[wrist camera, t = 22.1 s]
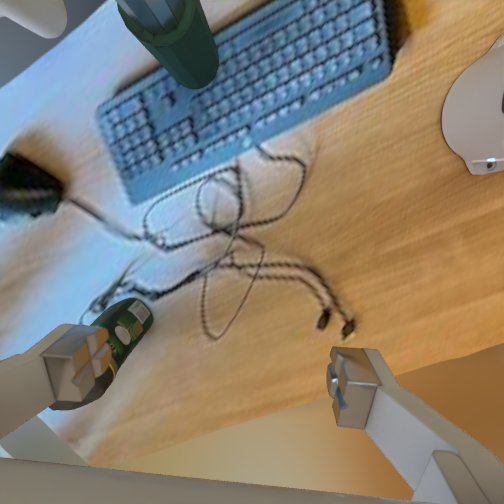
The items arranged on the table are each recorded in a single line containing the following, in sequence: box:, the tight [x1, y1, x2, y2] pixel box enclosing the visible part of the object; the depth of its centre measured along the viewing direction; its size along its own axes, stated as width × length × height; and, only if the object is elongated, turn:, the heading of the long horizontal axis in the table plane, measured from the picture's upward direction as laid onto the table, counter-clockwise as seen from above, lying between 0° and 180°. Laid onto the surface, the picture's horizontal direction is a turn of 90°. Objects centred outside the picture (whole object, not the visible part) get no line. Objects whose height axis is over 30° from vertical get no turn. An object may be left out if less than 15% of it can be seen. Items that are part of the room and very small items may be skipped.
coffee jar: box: [49, 298, 153, 410], centre depth 42 cm, size 10×8×19 cm
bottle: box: [117, 0, 219, 89], centre depth 29 cm, size 8×8×18 cm
